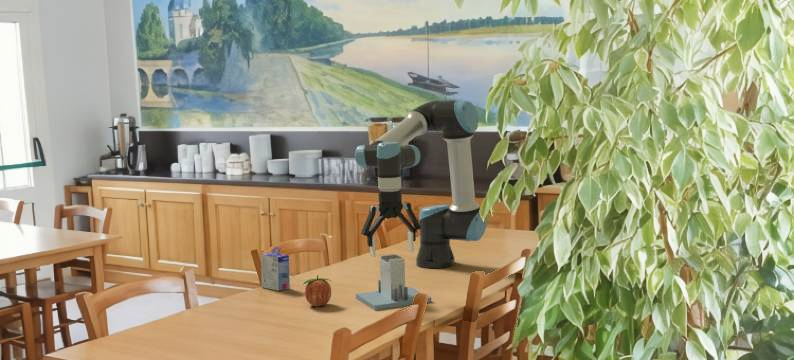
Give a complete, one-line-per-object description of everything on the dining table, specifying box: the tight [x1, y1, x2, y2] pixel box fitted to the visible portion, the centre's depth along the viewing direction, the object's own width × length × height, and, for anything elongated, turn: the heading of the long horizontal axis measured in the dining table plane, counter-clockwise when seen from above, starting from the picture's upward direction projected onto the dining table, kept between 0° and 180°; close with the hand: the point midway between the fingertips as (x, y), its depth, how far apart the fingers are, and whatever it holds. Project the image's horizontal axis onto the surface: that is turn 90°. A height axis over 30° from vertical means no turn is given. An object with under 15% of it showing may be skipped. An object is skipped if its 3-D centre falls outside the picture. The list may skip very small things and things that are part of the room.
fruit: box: [302, 274, 332, 307], centre depth 274 cm, size 9×10×10 cm
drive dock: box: [355, 279, 432, 311], centre depth 278 cm, size 20×17×6 cm
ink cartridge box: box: [260, 246, 291, 292], centre depth 299 cm, size 10×6×14 cm, turn 48°
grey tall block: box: [379, 253, 406, 300], centre depth 278 cm, size 5×9×13 cm, turn 23°
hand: (392, 253), depth 277 cm, fingers open, 13 cm apart
